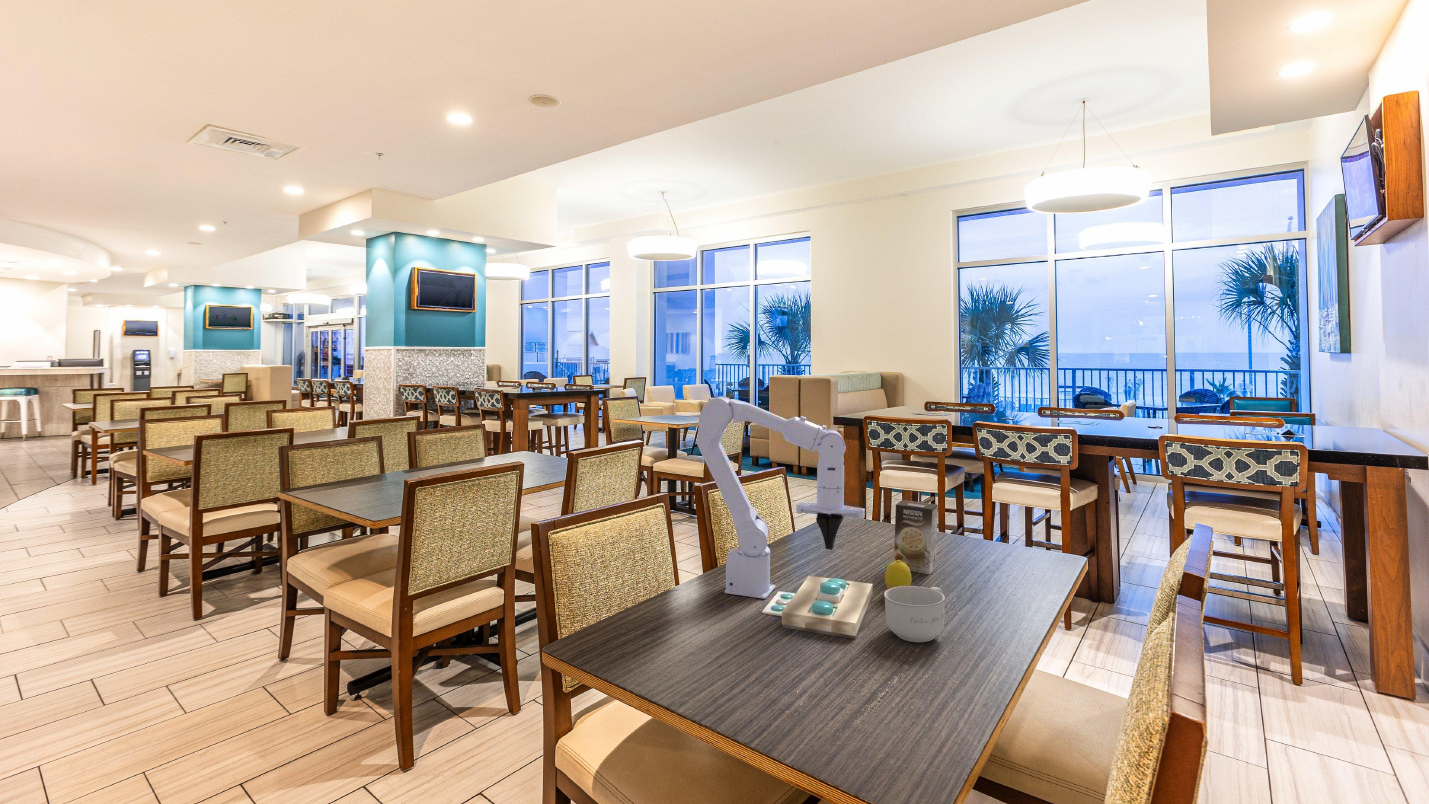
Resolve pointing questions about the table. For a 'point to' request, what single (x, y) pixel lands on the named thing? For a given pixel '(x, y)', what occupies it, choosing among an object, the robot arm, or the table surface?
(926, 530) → the coffee box
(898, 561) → the lemon
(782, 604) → the card
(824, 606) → the button near
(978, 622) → the table surface
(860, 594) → the button board
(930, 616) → the teacup
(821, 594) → the button mid
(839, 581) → the button far
